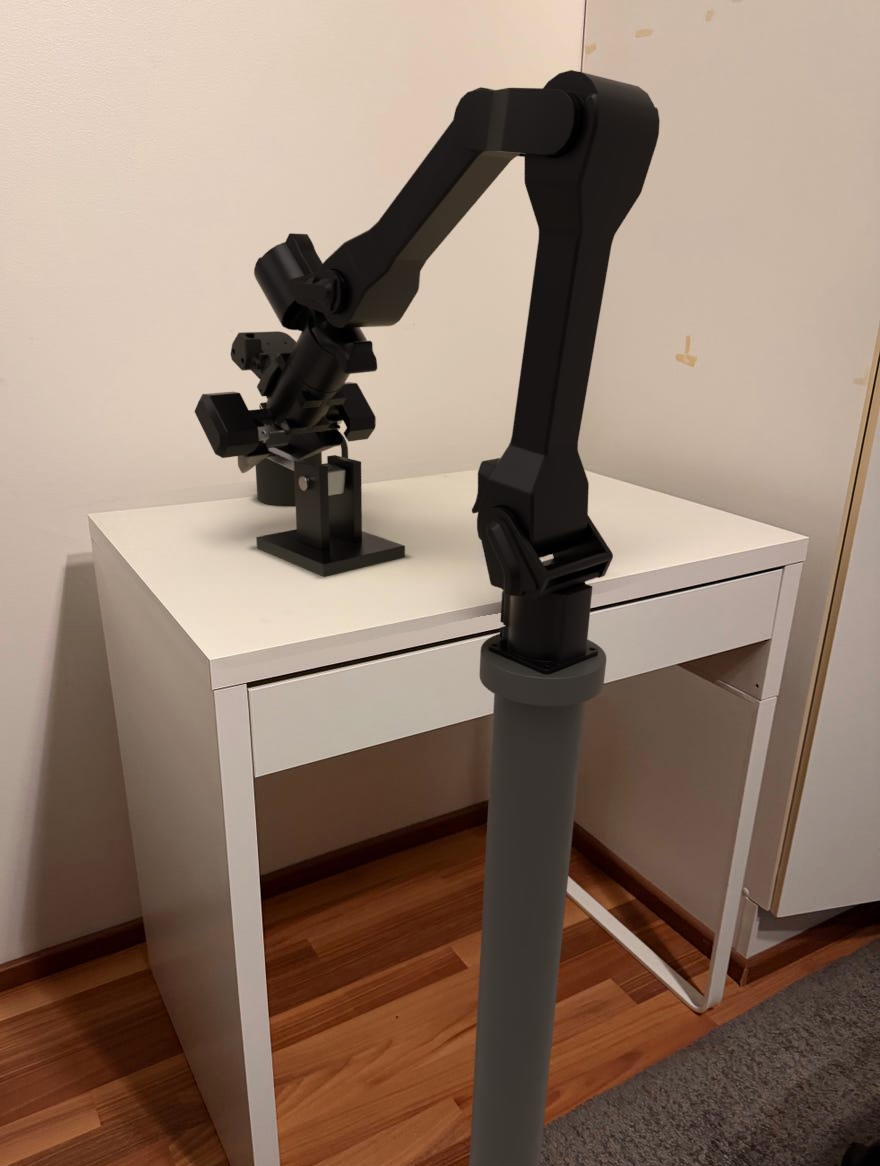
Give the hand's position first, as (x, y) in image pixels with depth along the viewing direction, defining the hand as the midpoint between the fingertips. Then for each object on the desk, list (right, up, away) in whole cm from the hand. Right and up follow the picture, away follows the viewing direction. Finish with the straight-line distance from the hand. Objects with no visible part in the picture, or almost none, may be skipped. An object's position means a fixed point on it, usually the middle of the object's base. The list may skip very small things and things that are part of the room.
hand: (262, 466), depth 95 cm
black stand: (+8, -10, -6) cm, 14 cm away
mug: (+3, -1, +15) cm, 16 cm away
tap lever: (+5, -2, -5) cm, 7 cm away
